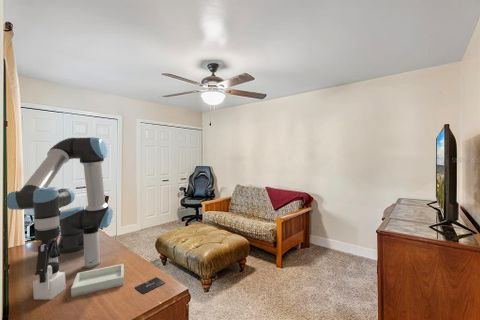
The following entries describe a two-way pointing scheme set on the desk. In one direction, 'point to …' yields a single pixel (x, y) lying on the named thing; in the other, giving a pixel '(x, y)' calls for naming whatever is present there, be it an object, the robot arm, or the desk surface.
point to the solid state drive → (149, 285)
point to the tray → (98, 280)
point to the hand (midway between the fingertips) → (49, 281)
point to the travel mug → (91, 246)
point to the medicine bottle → (51, 283)
